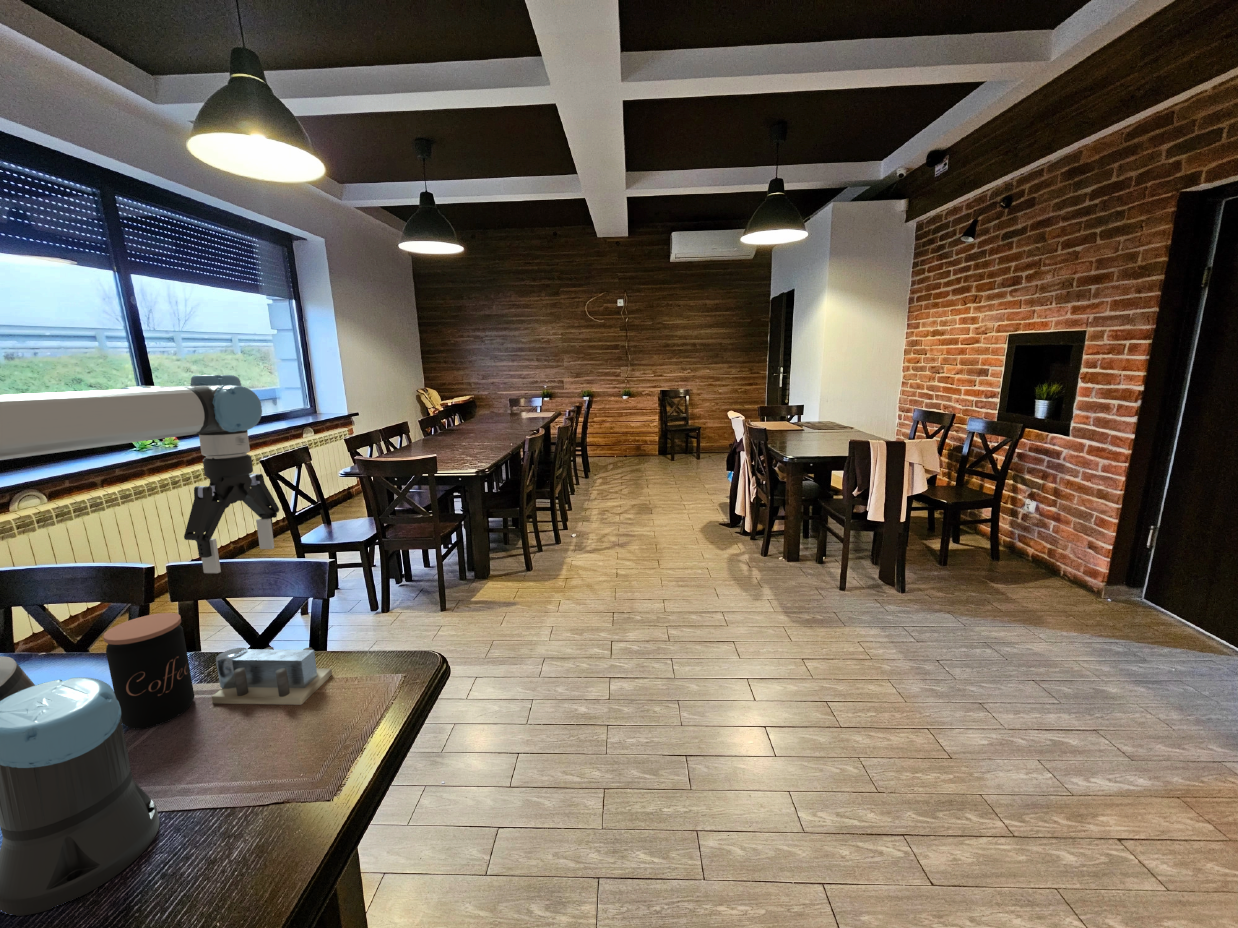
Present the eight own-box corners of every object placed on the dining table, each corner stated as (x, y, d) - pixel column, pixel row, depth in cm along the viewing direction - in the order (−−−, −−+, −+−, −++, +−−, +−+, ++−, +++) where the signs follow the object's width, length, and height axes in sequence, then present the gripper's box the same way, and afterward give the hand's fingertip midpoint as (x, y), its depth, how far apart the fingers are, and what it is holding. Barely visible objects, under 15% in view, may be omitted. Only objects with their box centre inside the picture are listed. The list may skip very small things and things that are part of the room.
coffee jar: (127, 740, 89) (108, 646, 86) (115, 716, 96) (97, 628, 93) (202, 708, 98) (188, 622, 95) (187, 688, 104) (173, 607, 101)
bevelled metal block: (319, 674, 106) (316, 648, 105) (302, 689, 101) (299, 662, 100) (233, 673, 107) (229, 647, 106) (213, 688, 101) (209, 661, 100)
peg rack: (301, 704, 98) (297, 674, 97) (212, 703, 99) (207, 673, 98) (332, 674, 108) (328, 646, 107) (251, 673, 109) (247, 646, 108)
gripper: (186, 466, 85) (204, 584, 89) (291, 446, 110) (302, 540, 113) (145, 466, 86) (164, 583, 89) (258, 447, 110) (270, 540, 114)
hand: (241, 559), depth 101 cm, fingers open, 13 cm apart
